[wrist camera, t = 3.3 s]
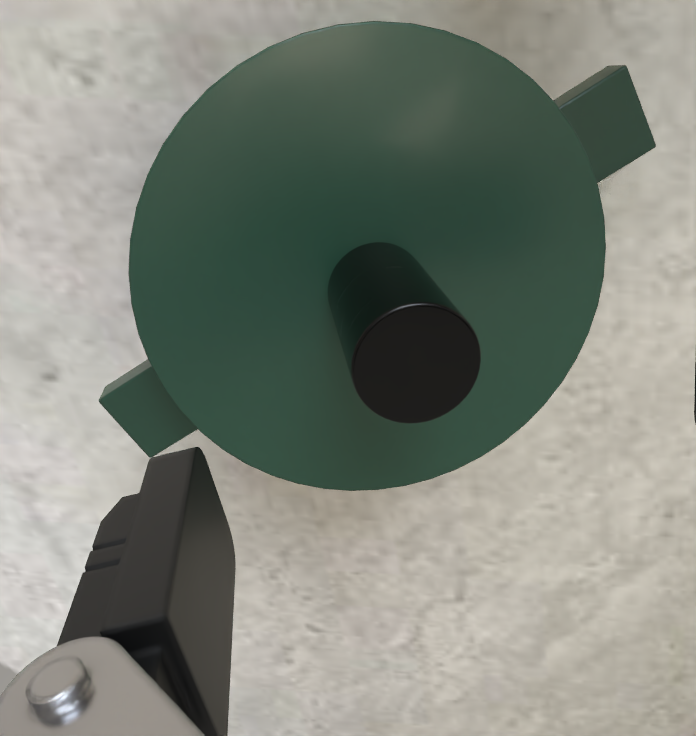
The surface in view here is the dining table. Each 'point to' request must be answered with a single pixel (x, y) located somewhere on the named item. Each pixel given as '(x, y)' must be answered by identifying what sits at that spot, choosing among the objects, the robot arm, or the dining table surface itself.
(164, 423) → the pot
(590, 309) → the lid
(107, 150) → the dining table surface
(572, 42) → the dining table surface
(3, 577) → the dining table surface
